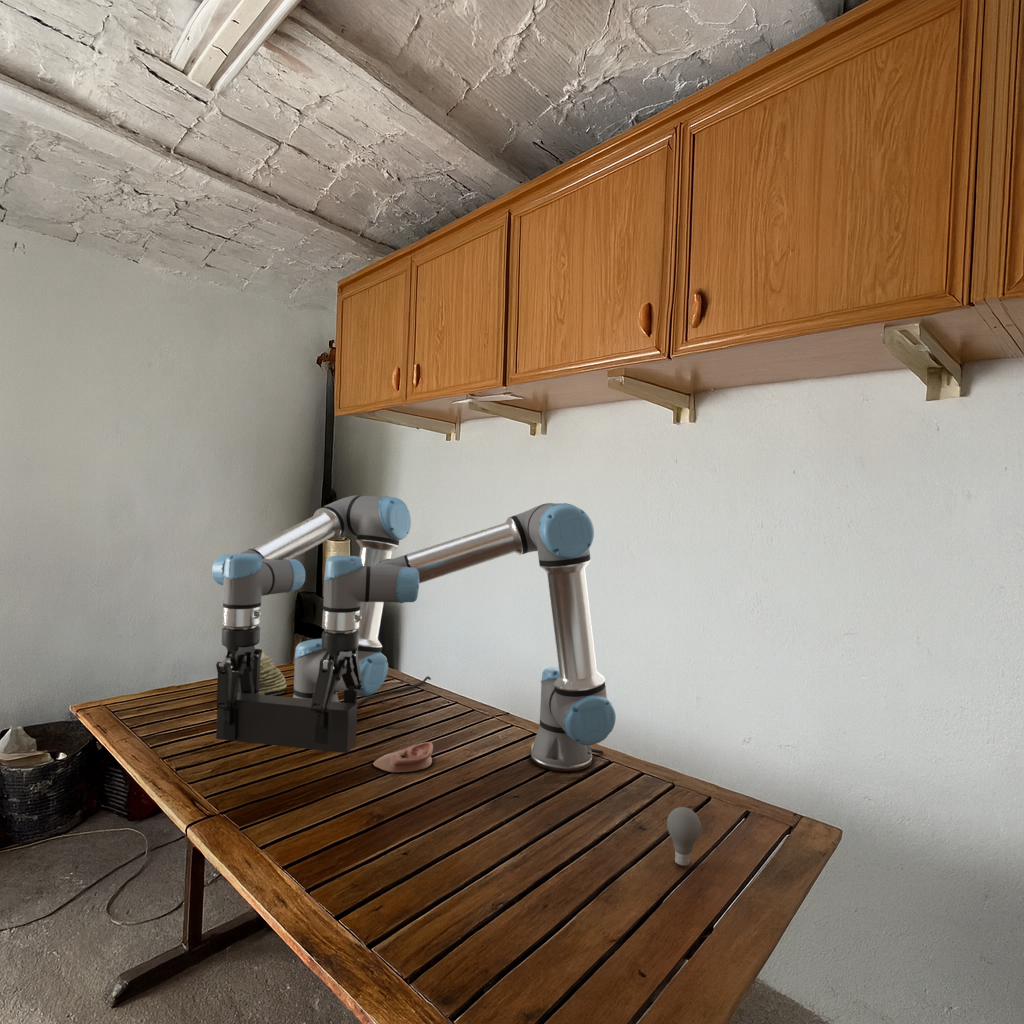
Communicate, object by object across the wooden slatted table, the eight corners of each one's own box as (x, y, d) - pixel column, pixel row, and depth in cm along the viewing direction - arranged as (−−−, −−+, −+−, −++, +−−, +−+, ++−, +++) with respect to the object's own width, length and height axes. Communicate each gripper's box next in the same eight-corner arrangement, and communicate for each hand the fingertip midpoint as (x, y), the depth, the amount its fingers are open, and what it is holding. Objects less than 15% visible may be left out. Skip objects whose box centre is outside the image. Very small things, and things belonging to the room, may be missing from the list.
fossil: (218, 695, 195) (220, 647, 195) (278, 685, 208) (279, 640, 207) (228, 703, 189) (230, 653, 188) (289, 692, 201) (290, 645, 201)
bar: (215, 739, 134) (217, 698, 134) (229, 731, 139) (230, 691, 139) (346, 753, 130) (348, 710, 130) (356, 744, 135) (357, 703, 134)
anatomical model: (368, 752, 148) (387, 734, 159) (367, 769, 148) (386, 750, 159) (422, 759, 145) (438, 741, 156) (421, 776, 145) (437, 757, 156)
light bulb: (660, 854, 117) (663, 800, 117) (692, 854, 117) (694, 801, 117) (671, 873, 111) (674, 817, 111) (704, 873, 111) (707, 817, 111)
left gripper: (233, 636, 126) (229, 751, 127) (279, 619, 144) (275, 721, 144) (198, 633, 127) (194, 747, 128) (248, 617, 145) (244, 718, 145)
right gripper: (332, 644, 119) (327, 755, 120) (379, 620, 144) (375, 713, 144) (294, 641, 121) (289, 751, 121) (348, 618, 145) (343, 710, 146)
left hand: (237, 733), depth 136 cm, fingers closed on bar, 5 cm apart
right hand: (336, 730), depth 133 cm, fingers open, 13 cm apart
